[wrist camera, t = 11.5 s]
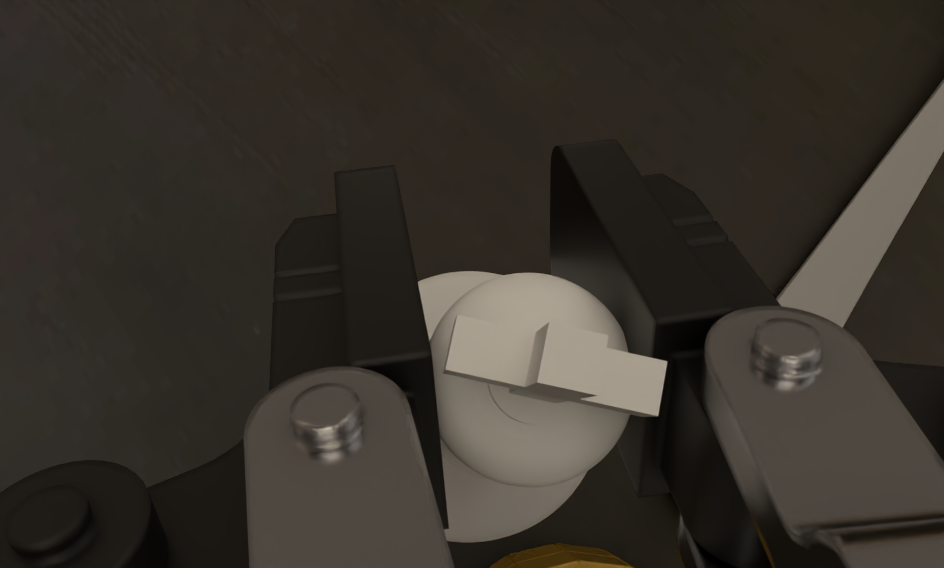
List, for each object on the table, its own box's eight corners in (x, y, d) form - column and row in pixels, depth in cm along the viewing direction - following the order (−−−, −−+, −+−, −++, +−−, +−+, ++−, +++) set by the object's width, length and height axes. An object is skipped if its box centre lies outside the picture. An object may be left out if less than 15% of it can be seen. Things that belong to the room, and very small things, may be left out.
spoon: (1047, -265, 35) (1096, -319, 33) (1212, -162, 35) (1275, -208, 32) (579, 439, 30) (592, 442, 28) (765, 571, 30) (796, 586, 27)
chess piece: (572, 567, 15) (865, 803, 6) (305, 510, 15) (125, 653, 5) (621, 304, 16) (944, 112, 7) (369, 248, 16) (313, -36, 6)
